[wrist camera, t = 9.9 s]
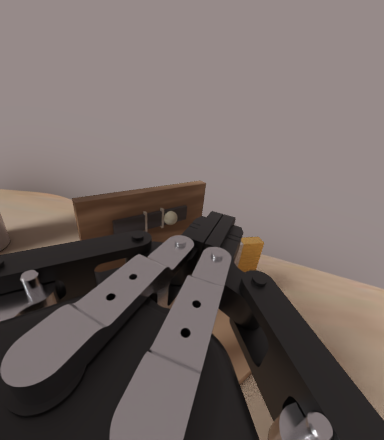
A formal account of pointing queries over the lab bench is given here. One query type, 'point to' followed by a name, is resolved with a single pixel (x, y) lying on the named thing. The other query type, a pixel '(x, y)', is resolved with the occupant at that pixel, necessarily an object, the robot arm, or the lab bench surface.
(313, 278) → the lab bench surface
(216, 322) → the levelling base
